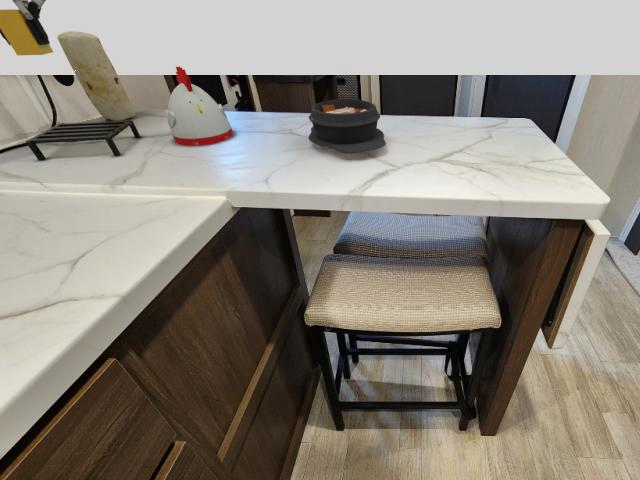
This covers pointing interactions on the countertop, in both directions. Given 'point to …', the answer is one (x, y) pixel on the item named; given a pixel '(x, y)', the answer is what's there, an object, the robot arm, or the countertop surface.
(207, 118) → the kitchen timer
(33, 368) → the countertop surface
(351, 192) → the countertop surface
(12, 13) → the block
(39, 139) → the rack
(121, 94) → the food model
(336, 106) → the casserole
